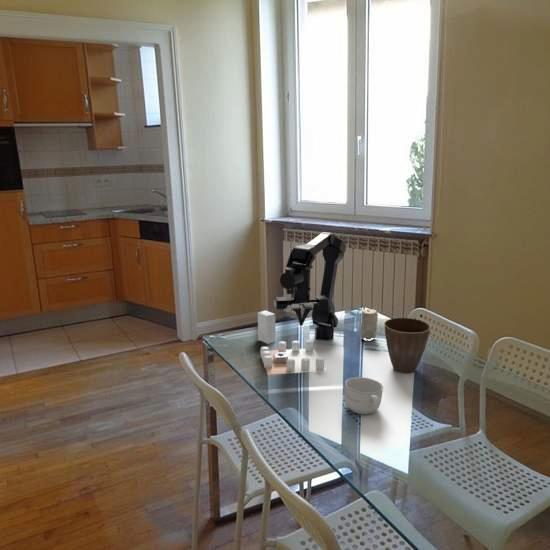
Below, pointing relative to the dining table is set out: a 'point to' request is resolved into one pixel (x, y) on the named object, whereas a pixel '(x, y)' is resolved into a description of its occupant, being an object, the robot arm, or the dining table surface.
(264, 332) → the skincare box
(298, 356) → the board
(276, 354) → the nut
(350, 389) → the teacup
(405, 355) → the plant pot
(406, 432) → the dining table surface
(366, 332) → the beige upright cylinder
